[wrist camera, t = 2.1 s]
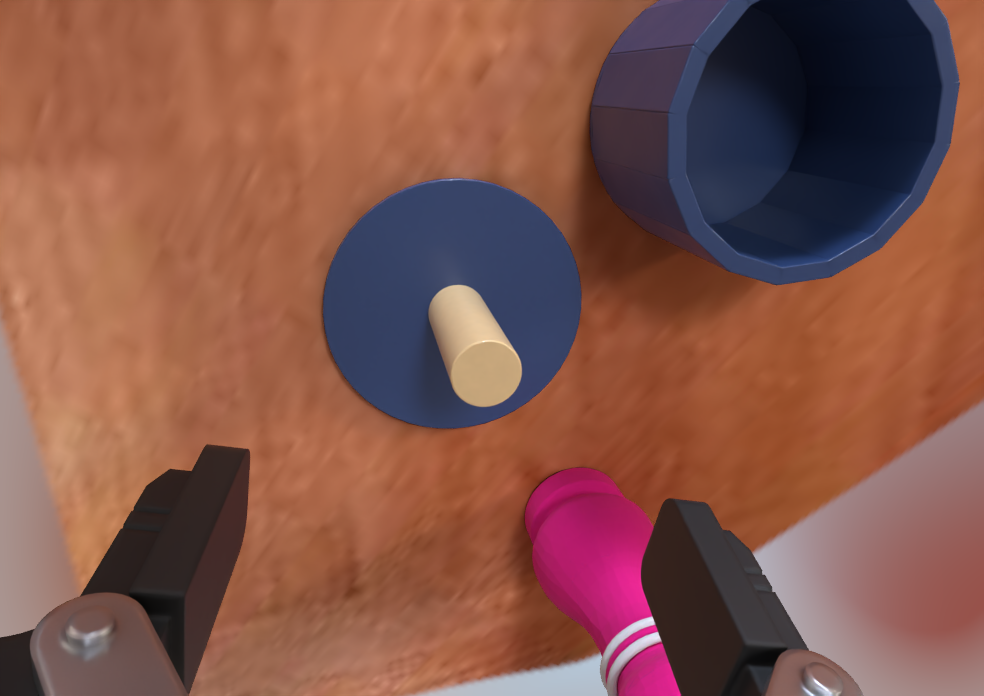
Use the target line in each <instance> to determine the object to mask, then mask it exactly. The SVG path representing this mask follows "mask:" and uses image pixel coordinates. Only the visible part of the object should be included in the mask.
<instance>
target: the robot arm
mask: <svg viewBox="0 0 984 696" xmlns="http://www.w3.org/2000/svg"><path fill="white" fill-rule="evenodd" d="M249 470H250V451H249V449H243V448H234V447H225V446H217V445H208V444H207V445H206V446H205V447H204V449H203V450H202V452H201V454H200V456H199V458H198V460H197V462H196V464H195V466H194V468H193V470H192V471H185V470H175V469H169V470H168V471H166V472H165V473H164V474H162V475H161V476H159V477H158V478H157V479H155V480H154V481H153V482H151V483H150V484H148V485H147V486H146V488H145V489H144V491H143V493H142V494H141V496H140V498H139V499H138V501H137V503H136V504H135V506H134V510H133V511H131V513H130V514H129V516H128V518H127V519H126V521H125V523H124V526H123V529H120V531H119V533H118V534H117V536H116V538H115V539H114V541H113V543H112V544H111V546H110V548H109V549H108V551H107V553H106V554H105V556H104V558H103V559H102V561H101V563H100V564H99V566H98V568H97V569H96V571H95V573H94V574H93V576H92V578H91V579H90V581H89V583H88V584H87V586H86V588H85V589H84V591H83V593H82V594H81V596H80V597H77V598H74V599H72V600H69V601H67V602H65V603H64V604H61V605H60V606H58V607H56V608H55V609H53V610H52V611H51V612H49V613H48V614H47V615H46V616H45V617H44V618H43V619H42V620H41V621H40V622H39V624H38V625H37V626H36V628H35V629H33V630H30V631H27V632H24V633H21V634H16V635H12V636H7V637H1V638H0V696H189V693H190V690H191V687H192V684H193V682H194V679H195V676H196V673H197V670H198V667H199V665H200V662H201V659H202V656H203V653H204V651H205V648H206V645H207V642H208V639H209V637H210V634H211V631H212V628H213V625H214V622H215V620H216V617H217V614H218V611H219V608H220V606H221V603H222V600H223V597H224V594H225V592H226V589H227V586H228V583H229V580H230V578H231V575H232V572H233V569H234V566H235V563H236V561H237V558H238V555H239V552H240V549H241V546H242V542H243V537H244V532H245V527H246V519H247V505H248V487H249ZM641 584H642V589H643V592H644V595H645V597H646V600H647V603H648V606H649V608H650V611H651V614H652V617H653V619H654V622H655V625H656V628H657V630H658V633H659V636H660V639H661V642H662V644H663V647H664V650H665V653H666V655H667V658H668V661H669V664H670V666H671V669H672V672H673V675H674V677H675V680H676V683H677V686H678V689H679V691H680V694H681V696H863V693H862V691H861V690H860V688H859V686H858V685H857V684H856V682H855V681H854V680H853V678H852V677H851V676H850V675H849V674H848V673H847V672H846V671H844V670H843V669H842V668H841V667H840V666H839V665H837V664H836V663H834V662H833V661H831V660H830V659H828V658H826V657H824V656H822V655H820V654H818V653H815V652H812V651H809V649H808V648H807V646H806V644H805V643H804V641H803V639H802V638H801V636H800V634H799V632H798V631H797V629H796V627H795V626H794V624H793V622H792V621H791V619H790V617H789V615H788V614H787V612H786V610H785V609H784V607H783V605H782V603H781V602H780V600H779V598H778V597H777V595H776V593H775V592H772V586H771V585H770V583H769V581H768V580H767V578H766V576H765V575H762V569H761V568H760V566H759V564H758V562H757V561H756V559H755V557H754V556H753V554H752V552H751V551H750V549H749V548H748V547H746V546H745V545H744V544H743V543H742V542H741V541H740V540H739V539H738V538H737V537H736V536H735V535H734V534H733V533H732V532H731V531H727V530H722V528H721V526H720V524H719V523H718V521H717V519H716V517H715V516H714V514H713V512H712V510H711V508H710V507H709V505H708V504H707V503H705V502H697V501H688V500H679V499H670V498H669V499H667V500H665V502H664V503H663V505H662V507H661V509H660V512H659V515H658V517H657V520H656V523H655V525H654V528H653V531H652V534H651V536H650V539H649V542H648V544H647V547H646V550H645V553H644V555H643V559H642V564H641Z"/></svg>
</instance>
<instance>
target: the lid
mask: <svg viewBox="0 0 984 696" xmlns="http://www.w3.org/2000/svg"><path fill="white" fill-rule="evenodd" d="M580 312H581V286H580V277H579V273H578V269H577V265H576V262H575V259H574V257H573V254H572V252H571V249H570V247H569V245H568V243H567V242H566V240H565V238H564V236H563V235H562V233H561V232H560V230H559V229H558V228H557V226H556V225H555V224H554V223H553V221H552V220H551V219H550V218H549V217H548V216H547V215H546V214H545V213H544V212H543V211H542V210H541V209H540V208H538V207H537V206H536V205H534V204H533V203H531V202H530V201H529V200H527V199H526V198H524V197H523V196H521V195H519V194H517V193H515V192H513V191H512V190H510V189H507V188H504V187H502V186H499V185H496V184H494V183H490V182H485V181H481V180H476V179H464V178H449V179H438V180H432V181H427V182H422V183H419V184H416V185H413V186H410V187H407V188H405V189H402V190H400V191H398V192H396V193H394V194H392V195H390V196H388V197H387V198H385V199H384V200H382V201H381V202H379V203H378V204H376V205H375V206H374V207H372V208H371V209H370V210H369V211H368V212H367V213H366V214H364V215H363V216H362V217H361V218H360V219H359V220H358V221H357V223H356V224H355V225H354V226H353V227H352V228H351V230H350V231H349V232H348V233H347V235H346V237H345V238H344V240H343V241H342V243H341V244H340V246H339V248H338V250H337V252H336V254H335V256H334V258H333V260H332V263H331V266H330V269H329V272H328V275H327V279H326V284H325V291H324V297H323V318H324V327H325V333H326V337H327V341H328V344H329V348H330V350H331V352H332V355H333V357H334V360H335V362H336V364H337V365H338V367H339V369H340V370H341V372H342V374H343V375H344V377H345V378H346V379H347V381H348V382H349V383H350V384H351V386H352V387H353V388H354V389H355V390H356V391H357V392H358V393H359V394H360V395H361V396H362V397H363V398H364V399H365V400H367V401H368V402H369V403H371V404H372V405H374V406H375V407H376V408H378V409H379V410H381V411H383V412H385V413H387V414H388V415H390V416H392V417H395V418H397V419H400V420H402V421H405V422H407V423H411V424H415V425H419V426H424V427H432V428H462V427H470V426H475V425H479V424H483V423H487V422H490V421H492V420H495V419H498V418H501V417H503V416H505V415H507V414H509V413H511V412H513V411H515V410H516V409H518V408H519V407H521V406H522V405H524V404H526V403H527V402H528V401H530V400H531V399H532V398H533V397H534V396H536V395H537V394H538V393H539V392H540V391H541V390H542V389H543V388H544V387H545V386H546V385H547V384H548V383H549V382H550V381H551V380H552V378H553V377H554V376H555V374H556V373H557V372H558V370H559V369H560V368H561V366H562V364H563V362H564V361H565V359H566V357H567V355H568V353H569V351H570V349H571V346H572V344H573V342H574V339H575V336H576V332H577V329H578V325H579V319H580Z"/></svg>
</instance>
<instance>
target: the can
mask: <svg viewBox="0 0 984 696" xmlns="http://www.w3.org/2000/svg"><path fill="white" fill-rule="evenodd" d="M947 21H948V20H947V18H946V17H945V15H944V14H943V13H942V11H941V10H940V8H939V7H938V6H937V4H936V3H935V1H934V0H659V1H658V2H656V3H655V4H653V5H652V6H650V7H649V8H647V9H645V10H644V11H643V12H642V13H641V14H640V15H639V16H638V17H637V18H636V19H635V20H634V21H633V22H632V23H631V24H630V25H629V26H628V27H627V29H626V30H625V31H624V32H623V33H622V34H621V36H620V37H619V39H618V40H617V42H616V43H615V45H614V46H613V47H612V49H611V51H610V53H609V55H608V57H607V59H606V60H605V62H604V64H603V67H602V69H601V72H600V74H599V77H598V80H597V83H596V87H595V91H594V94H593V99H592V106H591V113H590V139H591V149H592V153H593V158H594V162H595V166H596V168H597V171H598V174H599V177H600V179H601V181H602V183H603V185H604V187H605V189H606V191H607V192H608V194H609V195H610V197H611V198H612V200H613V202H614V203H615V204H616V205H617V206H618V207H619V208H620V209H621V210H622V211H623V212H624V213H625V214H626V215H627V216H628V217H630V218H631V219H632V220H634V221H635V222H636V223H637V224H638V225H640V226H641V227H642V228H643V229H644V230H646V231H648V232H650V233H652V234H654V235H656V236H658V237H660V238H662V239H664V240H666V241H668V242H670V243H672V244H674V245H676V246H678V247H680V248H682V249H684V250H686V251H688V252H690V253H692V254H694V255H696V256H699V257H701V258H703V259H705V260H707V261H709V262H711V263H713V264H715V265H717V266H719V267H721V268H723V269H725V270H727V271H729V272H732V273H736V274H739V275H743V276H746V277H750V278H753V279H757V280H760V281H764V282H767V283H770V284H774V285H782V284H789V283H795V282H802V281H809V280H815V279H822V278H828V277H832V276H834V275H835V274H837V273H839V272H841V271H842V270H844V269H846V268H848V267H849V266H851V265H853V264H855V263H857V262H858V261H860V260H862V259H864V258H865V257H867V256H869V255H871V254H872V253H874V252H876V251H878V250H879V249H880V248H882V247H883V246H884V245H885V243H886V242H887V241H888V240H889V239H890V238H891V237H892V236H893V235H894V234H895V232H896V231H897V230H898V229H899V228H900V227H901V226H902V225H903V224H904V223H905V222H906V220H907V219H908V218H909V217H910V216H911V215H912V214H913V213H914V212H915V211H916V210H917V208H918V207H919V206H920V205H921V204H922V203H923V201H924V199H925V197H926V195H927V193H928V191H929V189H930V187H931V185H932V182H933V180H934V178H935V176H936V174H937V172H938V170H939V168H940V166H941V164H942V162H943V160H944V158H945V156H946V153H947V151H948V149H949V147H950V143H951V137H952V131H953V124H954V117H955V111H956V104H957V97H958V91H959V84H960V82H958V81H959V75H958V70H957V65H956V60H955V55H954V50H953V45H952V40H951V35H950V30H949V25H948V22H947Z"/></svg>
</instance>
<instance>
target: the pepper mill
mask: <svg viewBox="0 0 984 696" xmlns="http://www.w3.org/2000/svg"><path fill="white" fill-rule="evenodd" d="M525 525H526V529H527V531H528V534H529V536H530V539H531V541H532V544H533V553H532V559H533V567H534V572H535V574H536V577H537V579H538V581H539V583H540V585H541V587H542V589H543V590H544V592H545V594H546V595H547V597H548V598H549V599H550V600H551V601H552V602H553V603H554V604H555V605H556V607H557V608H558V609H559V610H561V611H562V612H563V613H565V614H566V615H567V616H569V617H570V618H572V619H573V620H574V621H576V622H577V623H579V624H580V625H581V626H583V627H584V628H585V629H586V630H587V631H588V633H589V634H590V635H591V636H592V638H593V640H594V641H595V643H596V645H597V647H598V648H599V650H600V652H601V655H602V660H601V665H600V674H601V679H602V682H603V684H604V686H605V688H606V689H607V692H608V696H681V694H680V691H679V689H678V686H677V683H676V680H675V677H674V675H673V672H672V669H671V666H670V664H669V661H668V658H667V655H666V653H665V650H664V647H663V644H662V642H661V639H660V636H659V633H658V630H657V628H656V625H655V622H654V619H653V617H652V614H651V611H650V608H649V606H648V603H647V600H646V597H645V595H644V592H643V589H642V584H641V564H642V559H643V555H644V553H645V550H646V547H647V544H648V542H649V539H650V536H651V534H652V531H653V528H654V527H653V525H652V524H651V522H650V520H649V518H648V516H647V515H646V514H645V513H644V511H643V510H642V509H641V508H640V507H638V506H637V505H636V504H635V503H634V502H632V501H630V500H628V499H626V498H624V496H623V495H622V493H621V492H620V490H619V489H618V487H617V486H616V484H615V483H614V481H613V480H612V479H611V478H610V477H608V476H607V475H606V474H604V473H602V472H600V471H597V470H595V469H590V468H571V469H567V470H563V471H560V472H558V473H556V474H554V475H552V476H550V477H548V478H547V479H546V480H545V481H544V482H542V483H541V484H540V485H539V486H538V487H537V489H536V490H535V491H534V492H533V494H532V496H531V497H530V499H529V501H528V504H527V507H526V511H525Z"/></svg>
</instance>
